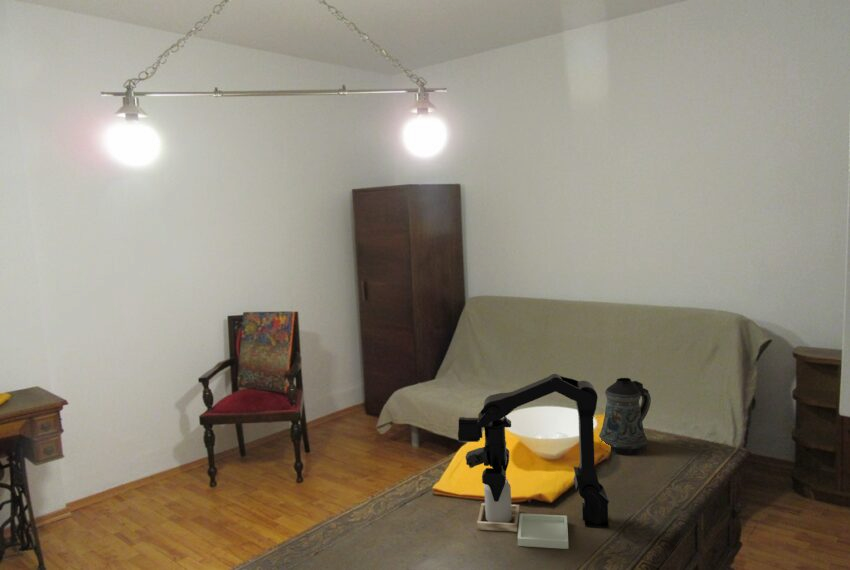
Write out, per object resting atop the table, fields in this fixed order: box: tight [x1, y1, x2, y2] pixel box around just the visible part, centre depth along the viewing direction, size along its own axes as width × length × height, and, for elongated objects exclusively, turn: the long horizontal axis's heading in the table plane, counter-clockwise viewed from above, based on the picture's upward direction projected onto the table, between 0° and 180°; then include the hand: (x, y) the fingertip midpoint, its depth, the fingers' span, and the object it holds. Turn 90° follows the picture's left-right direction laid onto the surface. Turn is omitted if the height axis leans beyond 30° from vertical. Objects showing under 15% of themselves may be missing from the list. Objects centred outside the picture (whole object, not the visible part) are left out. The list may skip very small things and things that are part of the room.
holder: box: [476, 502, 520, 533], centre depth 169 cm, size 11×11×2 cm
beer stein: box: [598, 377, 652, 456], centre depth 214 cm, size 16×19×25 cm
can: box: [483, 478, 513, 523], centre depth 168 cm, size 8×8×12 cm
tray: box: [517, 512, 569, 550], centre depth 160 cm, size 13×13×2 cm
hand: (497, 493), depth 168 cm, fingers open, 9 cm apart
